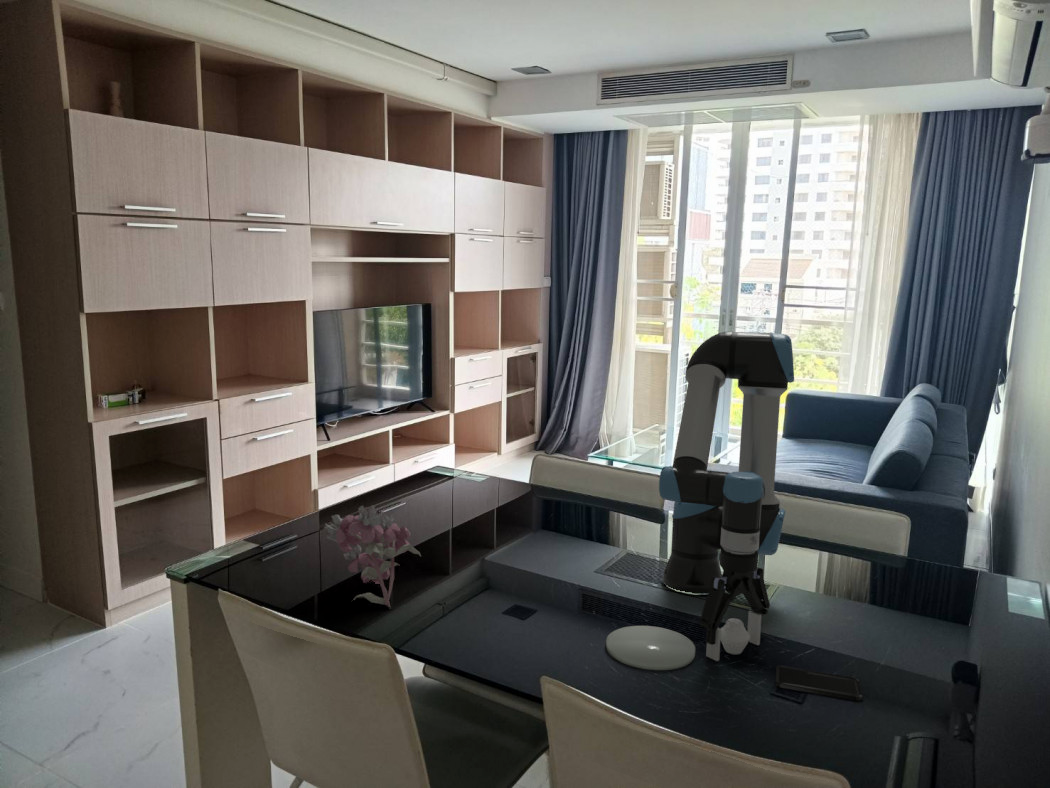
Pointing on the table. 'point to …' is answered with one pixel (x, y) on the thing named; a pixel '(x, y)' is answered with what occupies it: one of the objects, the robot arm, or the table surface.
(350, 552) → the flower
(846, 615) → the table surface
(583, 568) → the table surface
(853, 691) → the phone
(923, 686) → the table surface
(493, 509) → the table surface
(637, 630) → the ceramic plate
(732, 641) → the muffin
